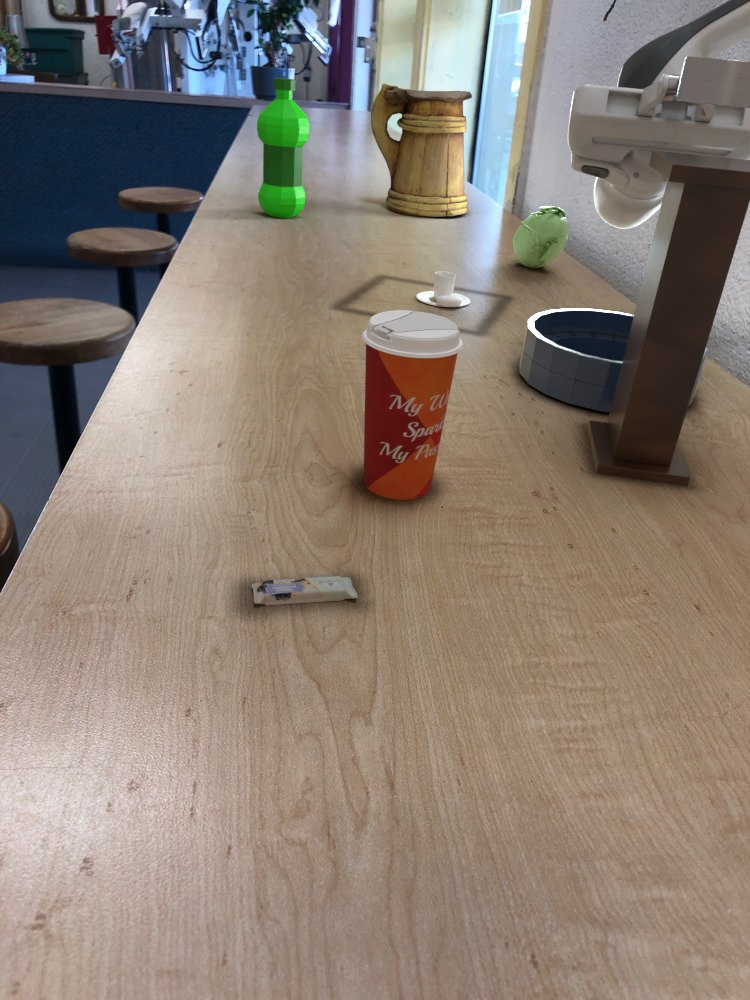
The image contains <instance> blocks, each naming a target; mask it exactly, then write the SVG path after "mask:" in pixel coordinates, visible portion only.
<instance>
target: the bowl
mask: <svg viewBox="0 0 750 1000" xmlns="http://www.w3.org/2000/svg"><path fill="white" fill-rule="evenodd" d="M633 317H634V314H631V313H625V312H621V311H612V310H604V309H595V308H559V309H548V310H545V311H541V312H537V313H534V315H532V316H531V317H530V318H528V319H527V321H526V326H525V331H524V337H523V343H522V348H521V354H520V359H519V366H518V367H519V368H518V369H519V375H520V376H521V377H522V378H523V380H524V381H525V382H526V383H527V384H528V385H529V386H531V387H533V388H535V389H536V390H538V391H539V392H541V393H542V394H544V395H546V396H549V397H551V398H553V399H556V400H559V401H561V402H564V403H567V404H569V405H573V406H577V407H581V408H585V409H590V410H594V411H598V412H603V413H610V410H611V406H612V402H613V398H614V394H615V390H616V386H617V382H618V378H619V374H620V370H621V366H622V362H623V358H624V354H625V349H626V345H627V341H628V337H629V333H630V329H631V325H632V321H633ZM708 353H709V349H708V348H707V347H706V348H705V352H704V355H703V358H702V362H701V365H700V368H699V372H698V375H697V378H696V382H695V385H694V388H693V392H692V395H691V398H690V402H689V405H688V407H689V406H691V405H692V403H693V400H694V399H695V395H696V393H697V389H698V386H699V383H700V380H701V376H702V373H703V369H704V367H705V363H706V359H707V356H708Z"/></svg>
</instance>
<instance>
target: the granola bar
mask: <svg viewBox="0 0 750 1000" xmlns="http://www.w3.org/2000/svg"><path fill="white" fill-rule="evenodd" d="M251 588H252V591H253V602H254V604H259V605H264V606H279V605H280V606H281V605H294V604H295V605H296V604H308V603H309V604H311V603H325V602H336V601H337V602H339V601H344V600H349V599H350V600H351V599H352V600H354V599H358V593H357V591H356V589H355V588H354V587H353V581H352V580H351V577H350V576H349V577H347V576H345V577H344V576H340V575H335V576H333V575H332V576H316V577H314V576H313V577H299V578H298V577H297V578H282V579H269V580H263V581H262V582H254V583H251Z"/></svg>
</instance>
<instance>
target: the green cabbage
mask: <svg viewBox="0 0 750 1000" xmlns="http://www.w3.org/2000/svg"><path fill="white" fill-rule="evenodd" d="M538 209H539V210H540V211H534V212H532V213H530V214H529V215H528V217H526V218H525V219H524V220H523V221H520V222H519V224H520V225H519V226H518V228H517V229H516V232H515V233H514V235H513V236H512V237H513V238H512V246H513V252H514V254H515V256H516V258H517V260H518V262H519V263H520V264H521V265H523V266H524V267H526V268H529V269H541V268H542V267H545V266H547V265H548V264H551V262H553V261H554V260H555V259H556V258H557V257H559V255H560V254H561V253H562V252H563V250H564V249H565V247H566V244H568V243H567V242H568V241H569V235H570V226H569V222H568V220H567V218H566V212H565V210H563V208H561V207H559V206H554V205H543V206H539V207H538Z"/></svg>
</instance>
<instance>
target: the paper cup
mask: <svg viewBox="0 0 750 1000" xmlns="http://www.w3.org/2000/svg"><path fill="white" fill-rule="evenodd" d="M361 338H362V341H363V342H364V343H365V372H364V373H365V375H364V376H365V377H364V378H365V380H364V381H365V382H364V422H363V423H364V425H363V426H364V427H363V429H364V430H363V483H364V486H365V487H366V488H367V489H368V490H369V491H370V492H371V493H373V494H375V495H377V496H380V497H383V498H386V499H391V500H400V501H401V500H402V501H403V500H404V501H406V500H414V499H418V498H421V497H424V496H425V495H426V494H428V492H429V491H430V490H431V486H432V482H433V478H434V473H435V468H436V464H437V460H438V454H439V449H440V444H441V440H442V434H443V429H444V425H445V419H446V415H447V410H448V409H447V408H448V404H449V399H450V395H451V389H452V383H453V379H454V373H455V368H456V363H457V359H458V353H460V352H461V351H462V350H463V348H464V343H463V340H462V338H461V337H460V330H459V328H458V325H457V324H456V323H455V322H454V321H453V320H451V319H448V318H446V317H444V316H441V315H439V314H434V313H430V312H425V311H417V310H409V309H408V310H403V309H399V310H397V309H396V310H387V311H382V312H381V311H380V312H378V313H376V314H374V315H372V316H371V317H370V319H369V320H368V324H367V328H365V330H364V331H363V333H362V335H361Z"/></svg>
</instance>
